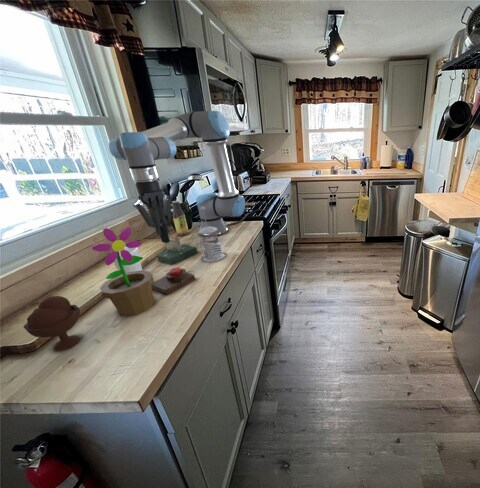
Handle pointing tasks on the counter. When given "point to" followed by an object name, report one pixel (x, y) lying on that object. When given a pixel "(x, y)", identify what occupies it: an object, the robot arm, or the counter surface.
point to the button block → (172, 282)
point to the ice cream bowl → (54, 321)
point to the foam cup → (132, 267)
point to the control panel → (177, 254)
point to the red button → (175, 271)
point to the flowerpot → (125, 276)
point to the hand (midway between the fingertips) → (166, 241)
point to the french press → (216, 247)
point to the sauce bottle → (179, 219)
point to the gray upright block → (173, 245)
